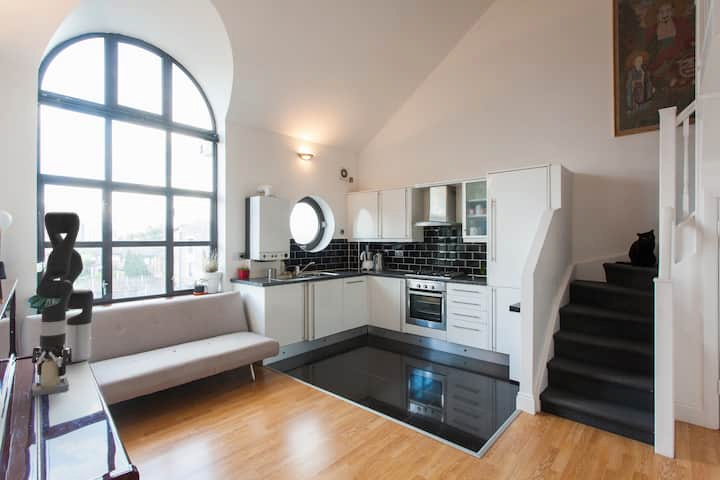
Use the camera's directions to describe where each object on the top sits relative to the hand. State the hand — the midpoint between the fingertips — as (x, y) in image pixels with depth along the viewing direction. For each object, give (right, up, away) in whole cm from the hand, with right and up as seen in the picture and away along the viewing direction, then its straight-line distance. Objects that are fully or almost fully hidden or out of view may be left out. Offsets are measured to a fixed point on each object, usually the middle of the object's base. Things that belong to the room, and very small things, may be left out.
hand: (51, 375), depth 135 cm
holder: (0, -5, 0) cm, 5 cm away
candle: (0, -4, 0) cm, 4 cm away
